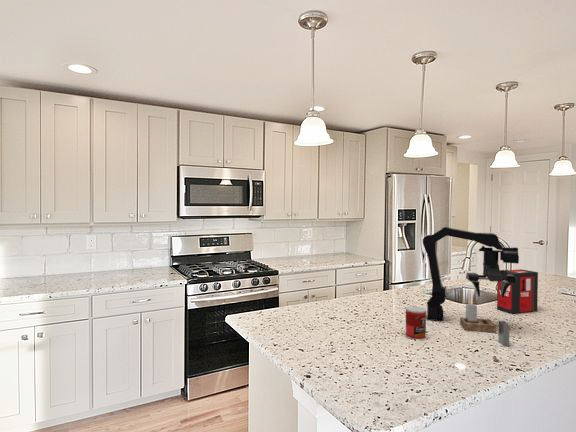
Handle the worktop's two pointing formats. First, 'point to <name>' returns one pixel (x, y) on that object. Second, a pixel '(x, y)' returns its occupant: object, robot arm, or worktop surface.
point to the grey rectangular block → (503, 333)
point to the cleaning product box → (519, 293)
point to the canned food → (415, 322)
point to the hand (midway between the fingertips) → (490, 297)
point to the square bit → (471, 313)
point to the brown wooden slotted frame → (478, 325)
